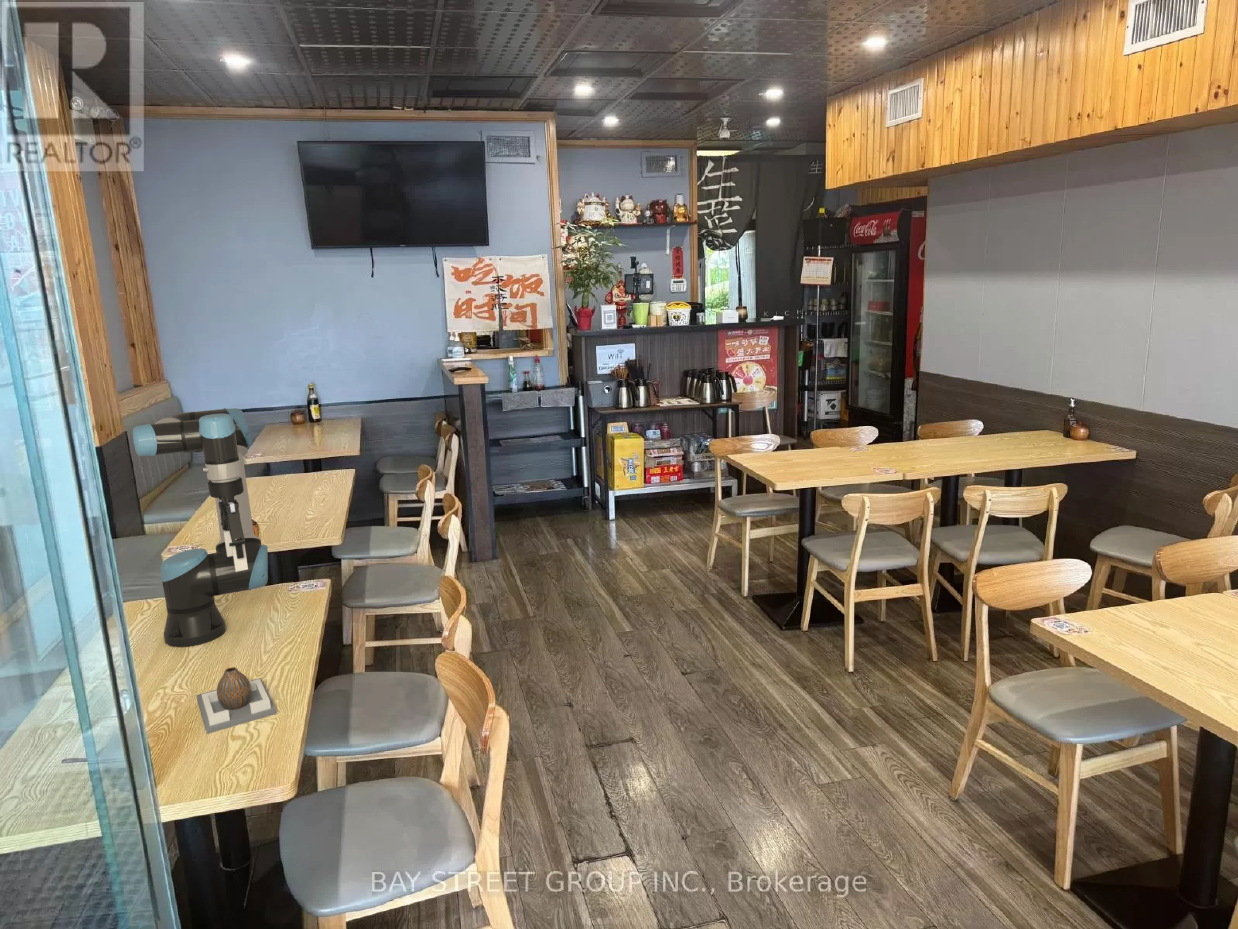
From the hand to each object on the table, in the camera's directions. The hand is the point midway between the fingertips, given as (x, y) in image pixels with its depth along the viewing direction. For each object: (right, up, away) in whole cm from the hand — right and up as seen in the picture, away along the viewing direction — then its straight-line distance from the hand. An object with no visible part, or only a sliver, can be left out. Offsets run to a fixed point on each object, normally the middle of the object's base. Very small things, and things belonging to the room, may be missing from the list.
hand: (237, 562), depth 205 cm
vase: (+8, -30, -18) cm, 36 cm away
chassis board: (+7, -31, -16) cm, 35 cm away
